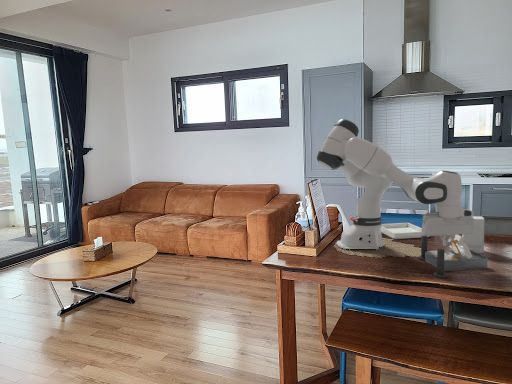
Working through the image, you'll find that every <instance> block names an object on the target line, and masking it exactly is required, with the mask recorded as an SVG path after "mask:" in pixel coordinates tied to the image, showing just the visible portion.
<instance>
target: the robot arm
mask: <svg viewBox="0 0 512 384" xmlns="http://www.w3.org/2000/svg"><path fill="white" fill-rule="evenodd" d="M359 132H360V130H359V127H358V125H356V124H355V122H353V121H352V120H349V119H346V118H344V119H343V118H342V119H339V120H338V121H337V122H336V123H335V124H334V125H333V127H332V129H331V130H330V131H329V133H328V135H326V138H325V139H324V141H323V143H322V146H321V148H320V150H319V151H318V153H317V156H316V160H317V162H318V163H319V164H320V165H321V167H323V168H324V169H327V170H331V171H334V170H337V169H339V170H340V171H341V172H343V173H344V174H345V180H346V183H347V184H349V185H350V186H353V187H355V188H363V189H364V192H363V195H362V196H361V197H359V198H358V199H357V200H356V215H355V216H352V215H351V216H350V217H349V220H351V222H352V224H351V225H350V226H348V227H347V228H346V229H344V230H343V231H342V233H341V236H340V240H337V241H336V245H337V247H339V248H340V249H342V248H343V250H346V249H349V250H350V249H376V250H379V249H380V248H383V246H384V242H383V241H384V240H383V237H382V236H383V235H382V232H381V224H383V223H382V220H383V219H382V216H381V208H382V205H381V204H382V199H383V196H384V194H385V192H386V191H387V189H389V188H390V187H391V186H392V185H393V184H394V185H397V186H398V187H400V188H401V190H403V192H404V193H405V195H406V196H407V198H408V199H410V200H412V201H416V202H418V203H420V204H422V205H433V204H435V211H432V212H426V213H425V214H424V215H422V224H421V228H422V233H423V235H425V236H429V237H440V240H441V241H442V246H443V247H449V246H452V241H453V240H454V238H455V235H462V234H472V233H473V232H474V229H475V223H474V218H473V217H472V216H475V213H474V210H471V209H468V208H465V207H462V201H461V196H462V195H463V194H462V193H463V191H462V189H463V187H462V185H463V184H462V177H461V175H460V174H459V173H458V172H457V171H456V172H455V171H449V170H439V171H438V172H437V173H436V174H434V175H432V176H430V177H427V178H424V177H420V176H415V175H410V174H409V173H407V172H405V171H404V170H403V169H401V168H399V167H397V166H396V165H395V163H394V162H393V159H392V156H391V155H390V154H389V153H388V152H387V151H385V150H384V149H383V148H381V147H380V146H378V145H376V144H375V143H373V142H372V141H371V142H370V141H369V140H366V139H364V138H362V137H359V136H358V135H359ZM447 236H448V240H447V239H446V238H447ZM379 247H380V248H379ZM350 251H351V250H350Z"/></svg>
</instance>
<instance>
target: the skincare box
mask: <svg viewBox="0 0 512 384" xmlns="http://www.w3.org/2000/svg"><path fill="white" fill-rule="evenodd" d="M472 217H473V218H474V223H475V229H474V232H473V233H472V234H461V236H462V237H464V238H465V240H464V241H463V242H464V243H466V244H467V246H468V248H469V250H472V251H474V252H477V253H479V254H484V253H485V218H484V217H483V216H479V215H478V216H476V215H473V216H472Z"/></svg>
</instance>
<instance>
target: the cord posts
mask: <svg viewBox="0 0 512 384" xmlns="http://www.w3.org/2000/svg"><path fill="white" fill-rule="evenodd" d="M428 238H429V237H428V236H425V235H422V236H421V238H420V239H421V240H420V243H421V245H420V247H421V249H420V255H418V257H417V258H418V260H420V261H425V252H426V251H428V244H429V243H428V242H429V241H428ZM445 250H446V249H443V248H437V250H436V251H437V267H436V271H435V272H433V277H435V278H438V279H446V278H447V277H448V274H447V273H446V272H445V271H444V254H445Z"/></svg>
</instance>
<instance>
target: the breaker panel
mask: <svg viewBox="0 0 512 384" xmlns="http://www.w3.org/2000/svg"><path fill="white" fill-rule="evenodd" d="M444 250H445V254H444V272H453V271H467V270H480V269H482V270H483V269H484V270H485V269H488V263H489V258H488V257H487V256H486V255H484V254H482V253H477V252H474V251H472V250H470V252H471V254H472V257H471V258H469V259H468V258H466V257H463V256H462V255H459V254H457V253H455V252H454V251H453V249H444ZM424 262H426V263H428V264H430V265H432V266H433V267H435V268H437V250H427V251H426V252H425V260H424Z"/></svg>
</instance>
